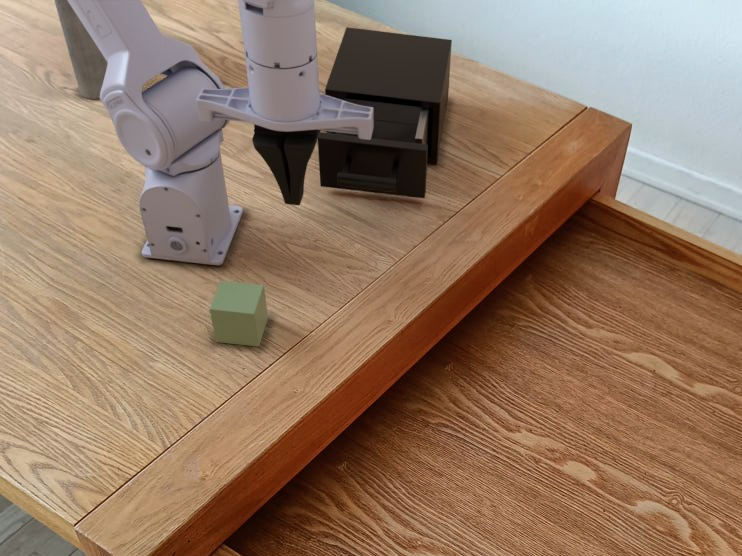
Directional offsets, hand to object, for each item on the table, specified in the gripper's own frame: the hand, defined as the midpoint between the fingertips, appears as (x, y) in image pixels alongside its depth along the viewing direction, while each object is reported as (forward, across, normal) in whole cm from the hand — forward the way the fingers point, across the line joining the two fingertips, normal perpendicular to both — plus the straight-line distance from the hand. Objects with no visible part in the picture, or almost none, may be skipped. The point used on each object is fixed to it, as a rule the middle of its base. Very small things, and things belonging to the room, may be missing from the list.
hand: (294, 198), depth 81 cm
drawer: (+8, -5, -18) cm, 21 cm away
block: (+9, +4, +9) cm, 13 cm away
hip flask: (+9, +29, -36) cm, 47 cm away
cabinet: (+9, -6, -29) cm, 31 cm away
